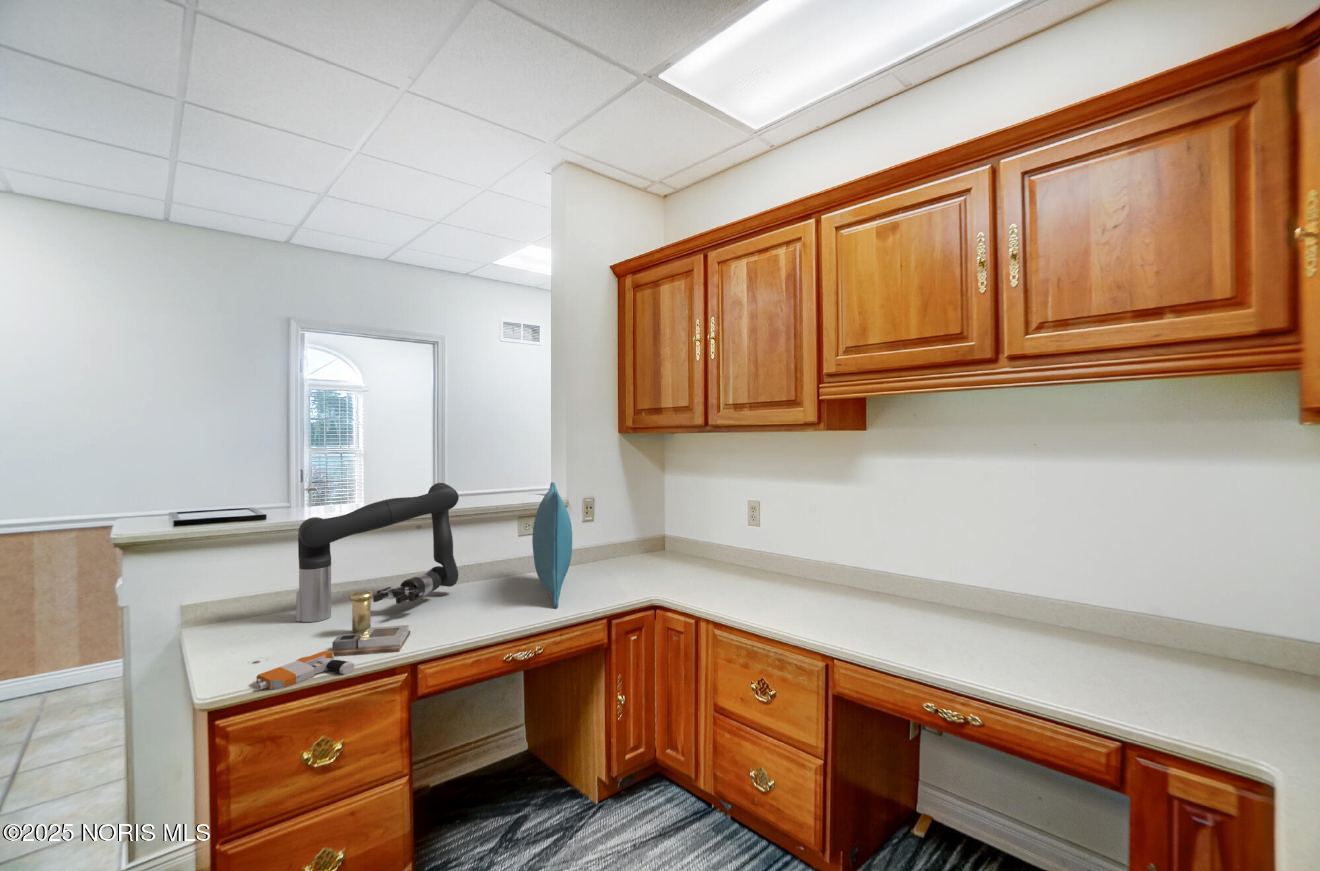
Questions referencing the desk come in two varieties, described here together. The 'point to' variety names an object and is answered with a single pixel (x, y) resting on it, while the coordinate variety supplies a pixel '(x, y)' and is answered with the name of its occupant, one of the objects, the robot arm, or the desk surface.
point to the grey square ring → (346, 642)
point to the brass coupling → (361, 611)
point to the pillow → (552, 542)
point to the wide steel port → (383, 637)
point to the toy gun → (302, 670)
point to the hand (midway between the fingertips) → (385, 599)
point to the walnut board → (369, 650)
